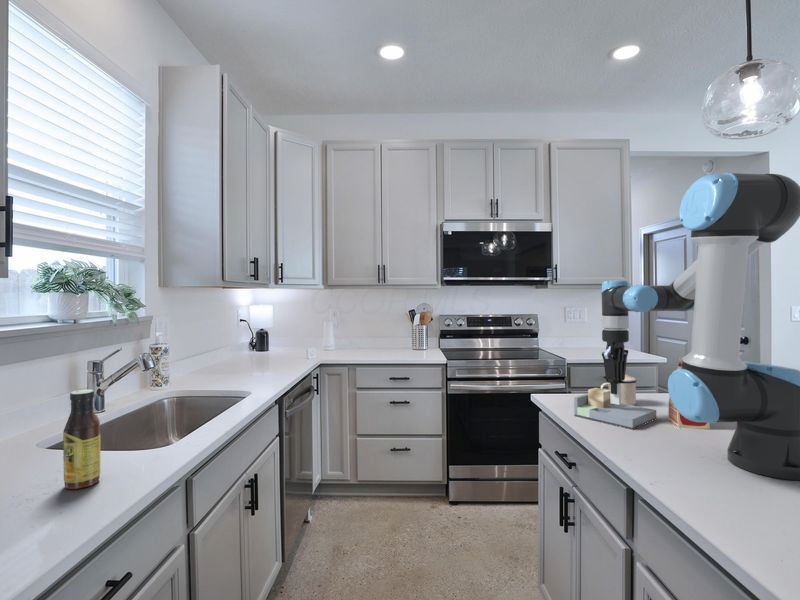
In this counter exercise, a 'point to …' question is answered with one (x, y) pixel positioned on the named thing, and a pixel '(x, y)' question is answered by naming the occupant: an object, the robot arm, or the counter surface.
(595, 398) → the maple block
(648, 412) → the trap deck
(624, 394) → the teacup with lid
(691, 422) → the milk carton
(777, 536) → the counter surface
